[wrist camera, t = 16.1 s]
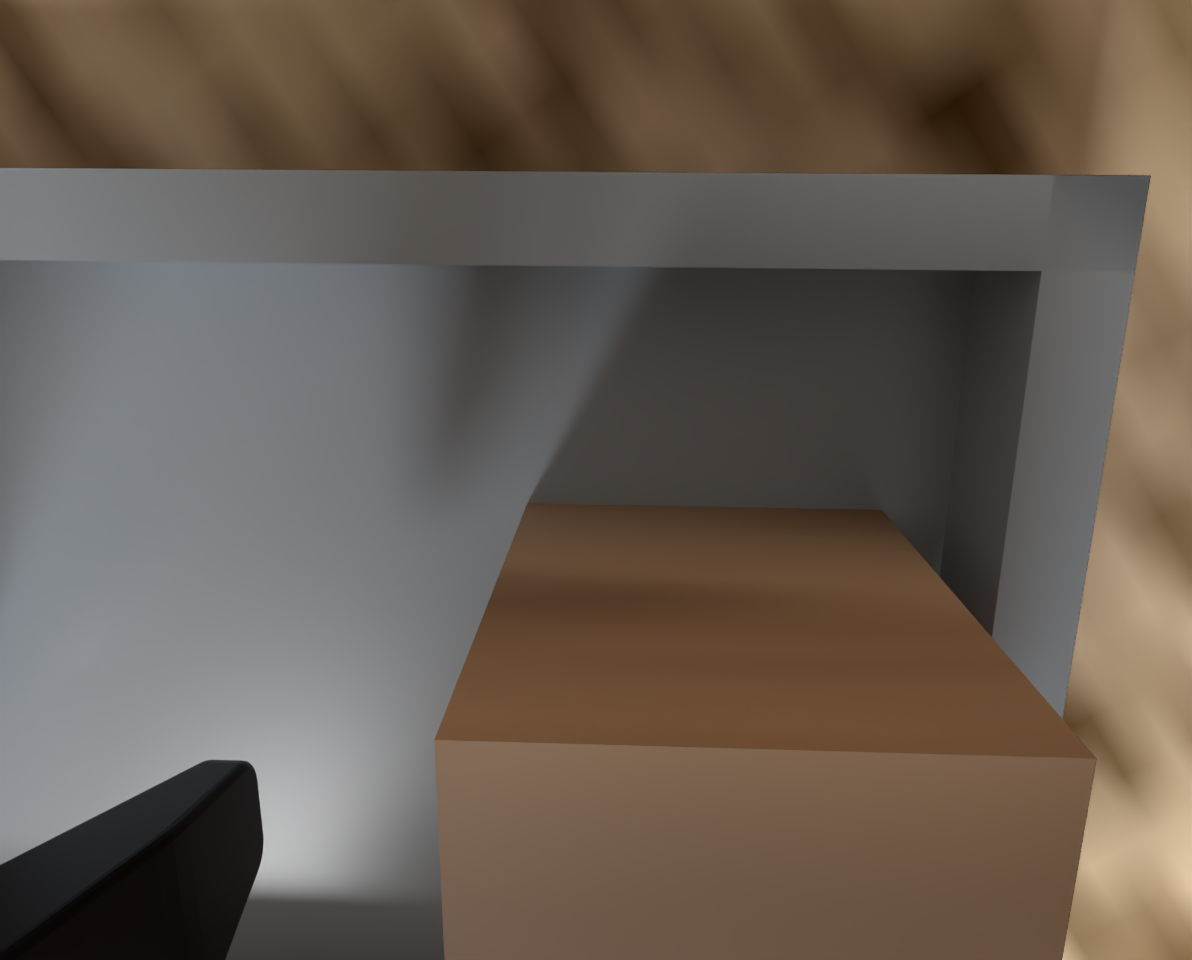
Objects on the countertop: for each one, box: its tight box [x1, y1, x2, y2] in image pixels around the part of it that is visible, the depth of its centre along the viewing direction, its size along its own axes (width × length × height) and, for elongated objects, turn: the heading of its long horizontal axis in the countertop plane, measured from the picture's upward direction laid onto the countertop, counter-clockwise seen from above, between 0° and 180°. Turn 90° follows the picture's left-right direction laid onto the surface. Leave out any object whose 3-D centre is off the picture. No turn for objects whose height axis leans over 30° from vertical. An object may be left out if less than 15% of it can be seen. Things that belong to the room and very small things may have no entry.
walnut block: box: [434, 503, 1097, 960], centre depth 9 cm, size 4×4×5 cm
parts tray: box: [0, 168, 1151, 960], centre depth 11 cm, size 11×18×2 cm, turn 90°
